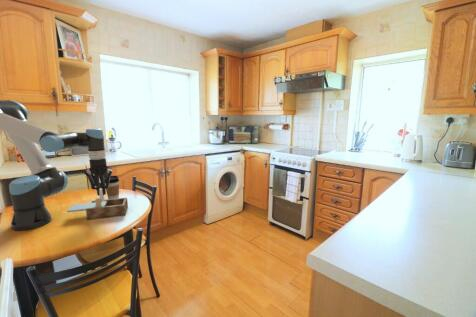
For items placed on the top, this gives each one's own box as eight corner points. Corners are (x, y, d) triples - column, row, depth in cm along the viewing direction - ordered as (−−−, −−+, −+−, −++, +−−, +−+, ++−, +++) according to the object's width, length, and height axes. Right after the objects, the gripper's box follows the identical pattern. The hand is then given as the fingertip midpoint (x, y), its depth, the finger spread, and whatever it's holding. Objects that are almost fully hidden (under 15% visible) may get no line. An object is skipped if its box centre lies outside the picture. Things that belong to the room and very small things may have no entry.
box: (87, 220, 122) (85, 209, 121) (93, 210, 133) (92, 200, 132) (125, 215, 127) (124, 205, 126) (128, 207, 139) (127, 197, 137)
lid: (67, 212, 120) (66, 203, 119) (73, 205, 128) (72, 197, 127) (103, 208, 125) (102, 199, 124) (106, 202, 133) (106, 194, 132)
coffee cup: (123, 197, 153) (121, 175, 150) (115, 202, 145) (113, 179, 142) (111, 197, 154) (109, 175, 151) (103, 202, 146) (100, 179, 143)
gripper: (81, 160, 118) (86, 204, 123) (110, 158, 122) (114, 201, 127) (85, 157, 125) (90, 199, 130) (112, 156, 129) (116, 197, 134)
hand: (102, 200), depth 128 cm, fingers closed
